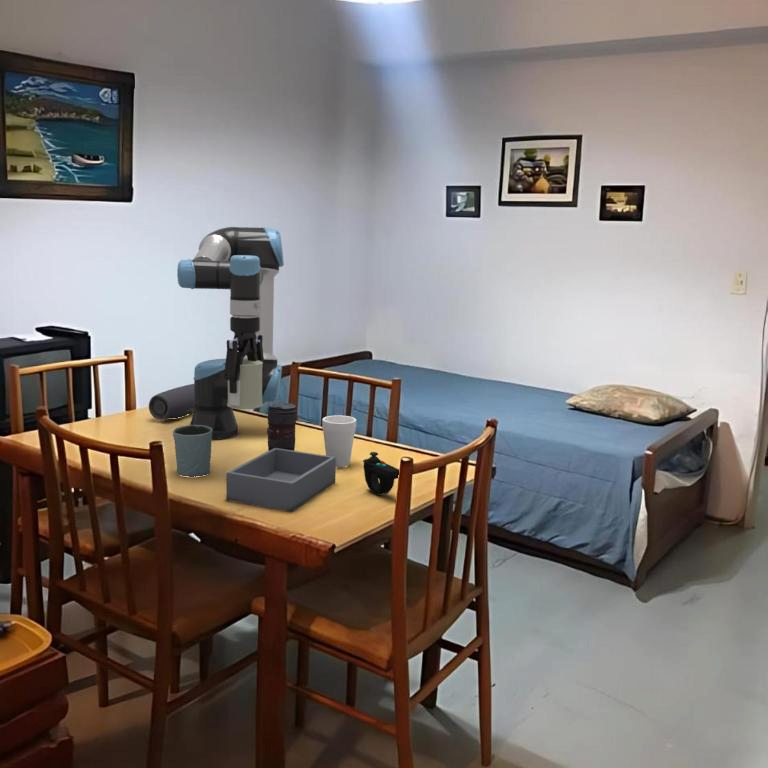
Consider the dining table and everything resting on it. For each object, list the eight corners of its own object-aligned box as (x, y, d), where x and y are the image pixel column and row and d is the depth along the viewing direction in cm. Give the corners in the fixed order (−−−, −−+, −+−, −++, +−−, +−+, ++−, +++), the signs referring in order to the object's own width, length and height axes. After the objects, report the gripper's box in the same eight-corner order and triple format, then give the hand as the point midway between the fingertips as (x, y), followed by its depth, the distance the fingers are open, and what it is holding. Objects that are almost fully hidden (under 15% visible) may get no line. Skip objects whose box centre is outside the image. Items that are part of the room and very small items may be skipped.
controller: (373, 486, 213) (374, 449, 211) (402, 500, 203) (403, 461, 201) (359, 488, 211) (360, 451, 208) (388, 503, 201) (390, 464, 199)
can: (246, 411, 209) (246, 364, 207) (219, 405, 214) (219, 360, 212) (270, 405, 217) (270, 360, 214) (243, 400, 221) (243, 356, 219)
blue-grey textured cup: (212, 466, 224) (212, 424, 222) (213, 478, 215) (212, 434, 212) (174, 468, 222) (173, 425, 220) (173, 479, 213) (172, 435, 210)
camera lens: (290, 460, 232) (291, 409, 229) (263, 458, 234) (263, 407, 231) (299, 453, 240) (300, 403, 237) (272, 450, 241) (273, 401, 238)
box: (274, 472, 221) (274, 447, 220) (335, 482, 215) (335, 456, 213) (226, 500, 199) (226, 472, 198) (292, 511, 193) (292, 483, 191)
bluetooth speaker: (189, 407, 290) (189, 380, 288) (211, 411, 286) (211, 383, 284) (147, 421, 270) (146, 391, 268) (170, 425, 266) (169, 395, 264)
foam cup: (322, 469, 225) (323, 423, 223) (320, 459, 234) (320, 415, 232) (357, 469, 227) (358, 423, 224) (353, 459, 236) (354, 415, 233)
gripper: (234, 321, 199) (234, 411, 204) (278, 313, 219) (278, 395, 223) (208, 318, 202) (209, 408, 207) (254, 311, 222) (254, 393, 226)
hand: (245, 401), depth 215 cm, fingers closed on can, 9 cm apart
